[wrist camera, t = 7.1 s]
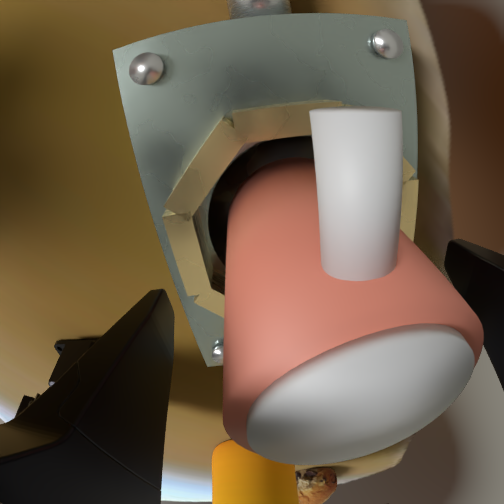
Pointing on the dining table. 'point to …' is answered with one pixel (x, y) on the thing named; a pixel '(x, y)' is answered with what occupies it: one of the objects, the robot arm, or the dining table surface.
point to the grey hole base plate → (248, 123)
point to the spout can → (336, 302)
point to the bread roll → (315, 485)
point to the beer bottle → (250, 477)
